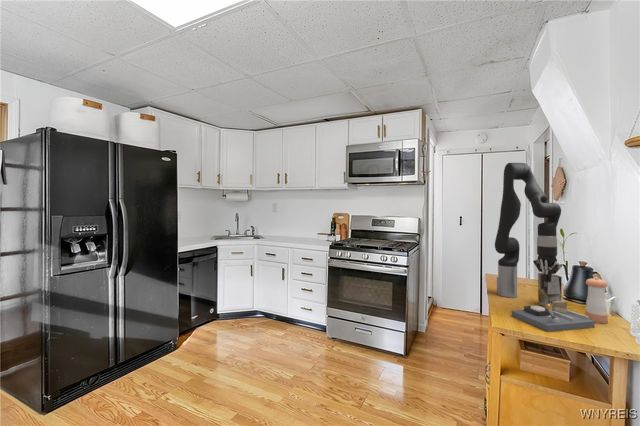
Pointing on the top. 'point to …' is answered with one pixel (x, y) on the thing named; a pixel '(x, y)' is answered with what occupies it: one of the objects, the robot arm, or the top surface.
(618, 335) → the top surface
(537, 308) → the push button
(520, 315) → the control panel
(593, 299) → the pepper shaker
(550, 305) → the toggle lever
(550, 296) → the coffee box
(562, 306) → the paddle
